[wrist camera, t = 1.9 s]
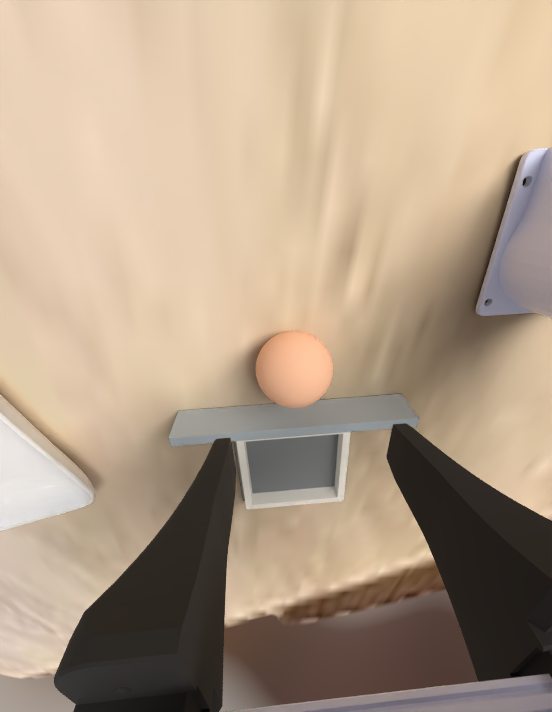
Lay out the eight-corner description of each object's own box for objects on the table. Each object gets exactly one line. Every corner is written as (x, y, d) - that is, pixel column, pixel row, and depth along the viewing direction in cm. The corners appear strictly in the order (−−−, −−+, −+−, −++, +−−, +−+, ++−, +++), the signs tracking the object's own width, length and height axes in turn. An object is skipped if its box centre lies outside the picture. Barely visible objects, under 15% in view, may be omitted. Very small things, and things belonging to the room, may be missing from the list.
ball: (252, 321, 20) (252, 356, 15) (325, 316, 20) (345, 350, 15) (258, 382, 22) (259, 427, 18) (322, 377, 22) (339, 421, 18)
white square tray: (231, 420, 24) (229, 433, 22) (351, 410, 24) (356, 423, 23) (243, 498, 28) (242, 512, 27) (343, 489, 29) (347, 503, 27)
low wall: (178, 410, 23) (168, 438, 20) (400, 393, 23) (419, 418, 21) (180, 418, 23) (170, 446, 20) (399, 401, 24) (417, 426, 21)
